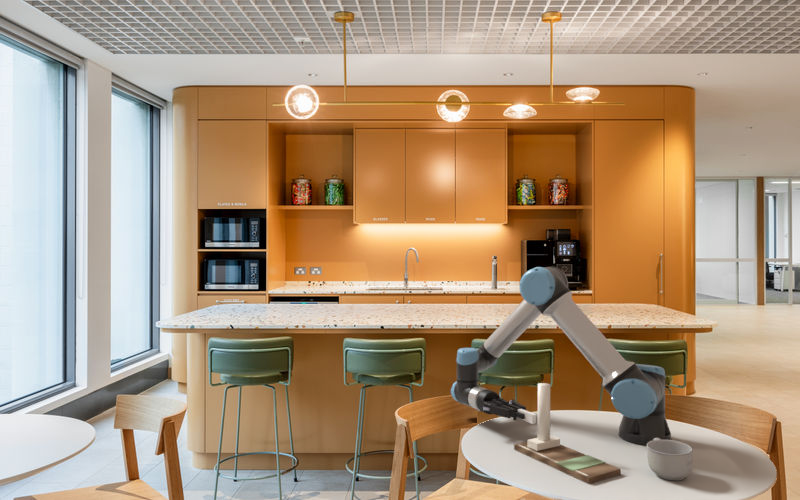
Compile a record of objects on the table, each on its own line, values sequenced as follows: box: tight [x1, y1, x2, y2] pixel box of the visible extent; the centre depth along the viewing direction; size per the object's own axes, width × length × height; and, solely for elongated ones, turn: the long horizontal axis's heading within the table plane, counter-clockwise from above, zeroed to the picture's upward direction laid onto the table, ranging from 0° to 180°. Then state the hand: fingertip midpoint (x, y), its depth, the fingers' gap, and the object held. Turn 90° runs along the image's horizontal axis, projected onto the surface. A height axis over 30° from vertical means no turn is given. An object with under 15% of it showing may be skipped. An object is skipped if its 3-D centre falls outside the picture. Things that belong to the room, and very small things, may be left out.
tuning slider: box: [526, 382, 561, 451], centre depth 163 cm, size 4×9×18 cm, turn 120°
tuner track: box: [513, 441, 622, 485], centre depth 156 cm, size 28×12×2 cm, turn 30°
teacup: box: [646, 438, 693, 481], centre depth 148 cm, size 14×11×8 cm
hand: (534, 419), depth 166 cm, fingers closed
